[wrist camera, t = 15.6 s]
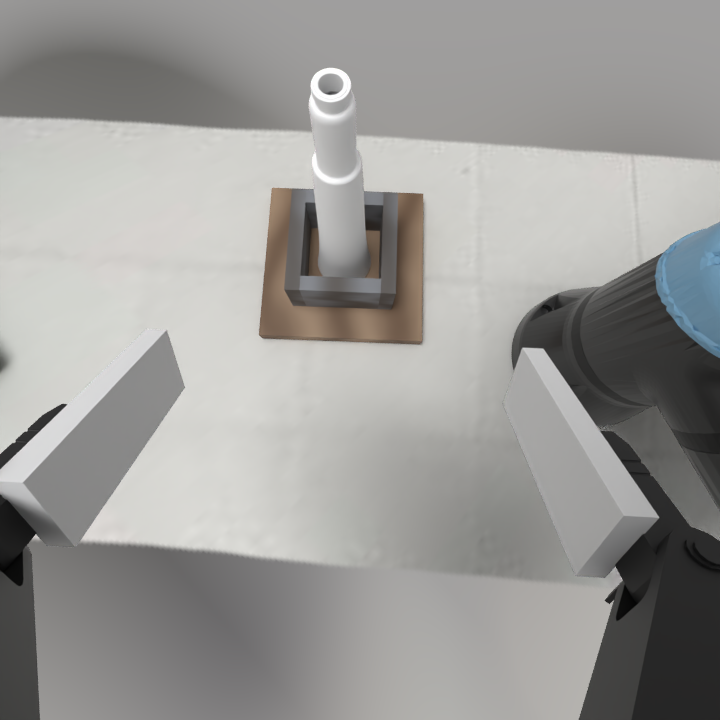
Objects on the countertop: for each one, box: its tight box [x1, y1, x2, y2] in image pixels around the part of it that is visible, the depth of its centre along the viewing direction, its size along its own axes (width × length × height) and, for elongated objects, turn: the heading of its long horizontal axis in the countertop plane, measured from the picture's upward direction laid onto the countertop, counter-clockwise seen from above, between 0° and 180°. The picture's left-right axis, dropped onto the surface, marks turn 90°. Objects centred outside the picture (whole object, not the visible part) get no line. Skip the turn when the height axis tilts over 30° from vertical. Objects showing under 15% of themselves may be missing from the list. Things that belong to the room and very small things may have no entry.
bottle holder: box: [259, 188, 423, 344], centre depth 40 cm, size 18×18×6 cm
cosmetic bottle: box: [309, 68, 371, 278], centre depth 30 cm, size 6×6×22 cm
